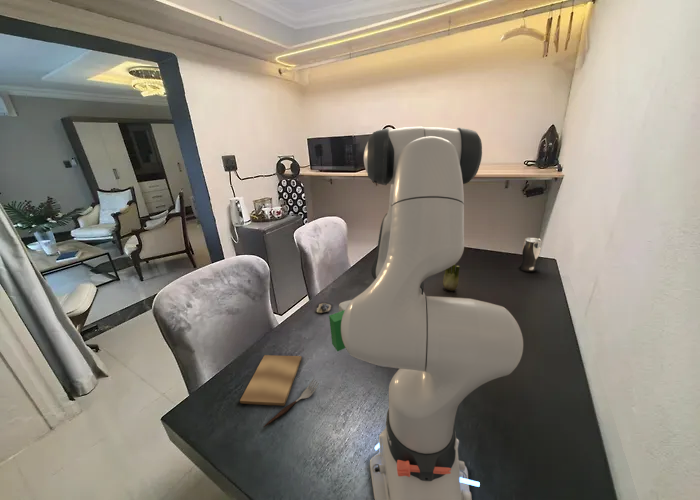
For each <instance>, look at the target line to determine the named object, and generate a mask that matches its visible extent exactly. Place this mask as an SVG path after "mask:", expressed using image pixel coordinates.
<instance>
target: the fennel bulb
mask: <svg viewBox="0 0 700 500" xmlns="http://www.w3.org/2000/svg"><path fill="white" fill-rule="evenodd" d="M460 269H461V266H460V265H456V264H454V265H453V266H451V267H450V268H448V269H446V270H444V275H443V279H442V286H443V288H444V289H445V290H446V291H451V292H453V291H456V290H457V288H458V286H459V279H460Z"/></svg>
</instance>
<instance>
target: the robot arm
mask: <svg viewBox="0 0 700 500" xmlns="http://www.w3.org/2000/svg"><path fill="white" fill-rule="evenodd" d="M482 158H483V142H482V139H481V137H480V135H479V134H478V132H477V131H475V130H473V129H469V128H465V127H457V128H449V127H435V126H434V127H433V126H430V127H429V126H428V127H427V126H426V127H424V126H423V125H421V126H407V127H399V128H394V129H393V128H392V129H389V128H388V127H387V128H382V129H378V130H376V131H373V133H372V134H371V135H369V137H368V139H367V142H366V145H365V148H364V151H363V165H364V169H365V172H366V173H367V178H369V180H370V181H372V182H373V183H375V184H378V185H382V186H387V185H390V188H389V199H388V208H387V213H386V214H385V215H384V216H383V217H382V220H381V224H380V228H379V233H378V241H377V247H376V254H375V257H374V260H373V262H372V265H371V270H370V271H371V272H370V273H371V276H372V278H373V279H374V280H373V281H372V283H371V284H370V285H369V286H368V287H367V288H366V289H365V290H364V291H362V292H361V293H360V294H358V295H356V296H354V298H353V299H350V300H344V301H342V302H340V303H339V304H338V312H340V311H343V310H345V311H344V314H343V317H342V321H341V336H342V340H343V343H344V345H345V348H344V349H346V351H347V353H348V354H349V355H350V357H352V358H353V359H357V360H359V361H363V362H365V363H369V364H372V365H375V366H378V367H384V368H392V369H397V371H396V372H395V373H394V375H393V376H392V378H391V380H390V382H389V385H388V409H387V413H386V417H385V428H384V429H383V430H382V431H381V432H380V434H379V436H378V443H377V444H376V445H375V446H374V450H375V451H378V452H377V453H375V455H373V456H372V457H371V458H370V460H369V471H370V478H371V484H372V491H373V498H374V500H473V498H472V492H471V491H470V486H474V487H478V488H479V487H480V485H481V484H480V482H479V481H476V480H473V479H469V471H468V468H467V466H466V463H465V461H463V460H460V459H459V444H460V440H459V439H458V438H457V433H456V425H455V420H456V415H457V413H458V408H459V406H460V404H461V403H462V402H463V401H464V399H465V398H467V397H468V396H469V395H470V394H471V393H472V392H474V391H475V390H477V389H478V388H479V387H481V386H483V385H485V384H486V383H489V382H490V381H493V380H496V379H499V378H502V377H507V376H509V375H511V374H512V373H513V372H514V371H515V369H516V368H517V367H518V366H519V364H520V362H521V359H522V357H523V353H524V337H523V333H522V330H521V327H520V325H519V323H518V321H517V320H516V319H515V317H514V316H513V314H512V313H511V312H510V311H509V310H508V309H507V308H505V307H504V306H502V305H499V304H494V303H491V302H487V301H483V300H478V299H475V298H470V297H469V298H468V297H454V296H453V297H452V296H435V295H434V296H433V295H426V294H425V291H424V290H425V283H424V281H425V280H426V279H428V278H430V277H432V276H435V275H438V274H439V273H441V272H445V270H446V269H448V268H450V267H451V268H452V266H453V265H454V264H455V265H456V264H457V263H459V261H460V260H461V258H462V256H463V254H464V251H465V192H464V185H465V184H468V183H470V182H471V181H472V180H473V179H475V177H476V176H477V174H478V171H479V169H480V166H481V164H482ZM376 470H377V471H376Z"/></svg>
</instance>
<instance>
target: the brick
mask: <svg viewBox="0 0 700 500" xmlns="http://www.w3.org/2000/svg"><path fill="white" fill-rule="evenodd" d="M344 311H345V310H343V311H340V312H339V311H338V312H335V313H333V314H330V315H328V318H329V328H330V335H331V336H330V337H331V344H332V346H333V348H334V349H335V350H336V351H337V352H339V351H342V350H345V349H346V348H345V345H344V343H343V340H342V336H341V321H342V317H343V314H344Z"/></svg>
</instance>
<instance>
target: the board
mask: <svg viewBox="0 0 700 500" xmlns="http://www.w3.org/2000/svg"><path fill="white" fill-rule="evenodd" d="M302 359H303V358H302V356H301V355H276V354H275V355H273V354H270V355H269V354H264V356H263V357H262V359H261V360H260V363H259V365H258V366H257V368H256V370H255V372H254V373H253V375H252V377H251V379H250V380H249V383H248V384H247V386H246V388H245V390H244V392H243V394H242V395H241V398H240V399H239V404H244V405H264V406H283V407H286V403H287V401H288V398H289V396H290V392H291V389H292V387H293V384H294V381H295V380H296V379H295V378H296V375H297V373H298V370H299V367H300V364H301V362H302Z"/></svg>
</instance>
